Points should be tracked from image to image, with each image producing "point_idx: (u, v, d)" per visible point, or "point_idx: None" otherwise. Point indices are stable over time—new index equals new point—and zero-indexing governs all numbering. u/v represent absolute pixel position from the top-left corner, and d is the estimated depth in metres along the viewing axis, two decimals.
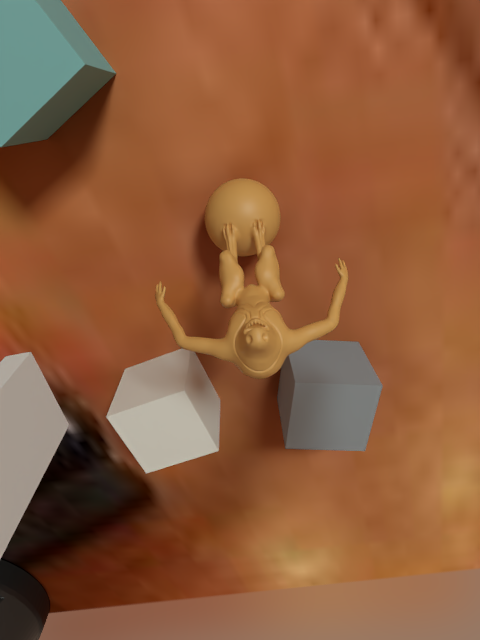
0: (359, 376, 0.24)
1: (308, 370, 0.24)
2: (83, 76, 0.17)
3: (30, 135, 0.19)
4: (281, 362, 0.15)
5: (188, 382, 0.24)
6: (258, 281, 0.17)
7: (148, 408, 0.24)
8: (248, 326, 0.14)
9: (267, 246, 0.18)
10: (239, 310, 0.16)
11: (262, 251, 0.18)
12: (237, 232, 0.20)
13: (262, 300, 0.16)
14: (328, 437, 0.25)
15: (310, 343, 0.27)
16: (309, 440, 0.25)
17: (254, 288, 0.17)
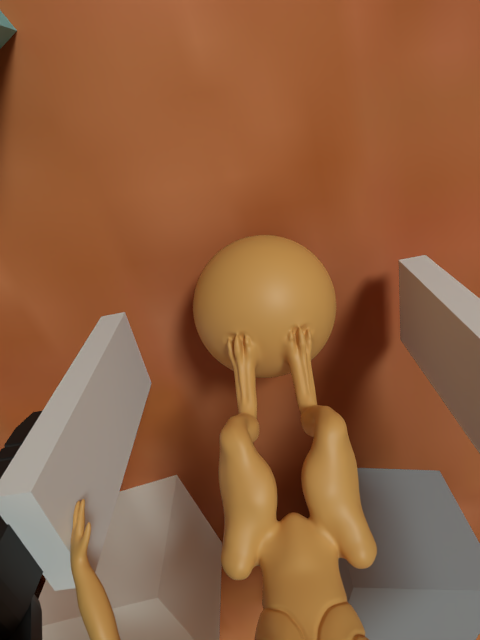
0: (460, 565, 0.14)
1: None
2: None
3: None
4: None
5: (167, 567, 0.14)
6: (312, 512, 0.07)
7: None
8: None
9: (331, 420, 0.08)
10: None
11: (320, 433, 0.08)
12: (256, 349, 0.10)
13: (330, 599, 0.06)
14: None
15: (365, 476, 0.17)
16: None
17: (304, 541, 0.07)
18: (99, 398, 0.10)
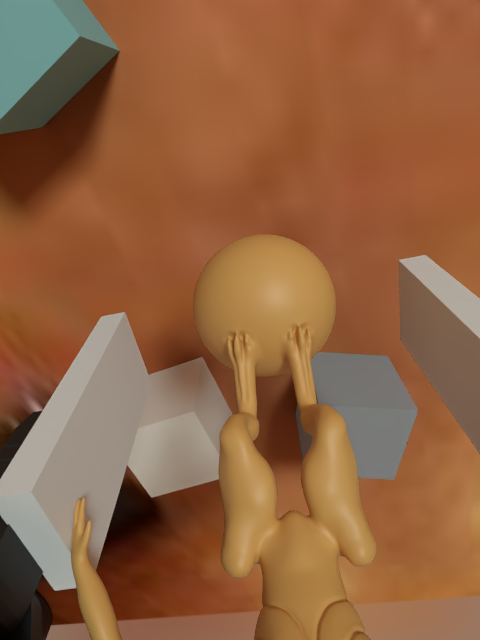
0: (391, 398, 0.21)
1: (334, 390, 0.22)
2: (79, 52, 0.14)
3: (20, 122, 0.16)
4: None
5: (198, 400, 0.22)
6: (312, 510, 0.07)
7: (153, 429, 0.21)
8: None
9: (330, 418, 0.08)
10: None
11: (319, 432, 0.08)
12: (256, 348, 0.10)
13: (330, 597, 0.06)
14: None
15: (334, 357, 0.24)
16: None
17: (303, 538, 0.07)
18: (99, 398, 0.10)
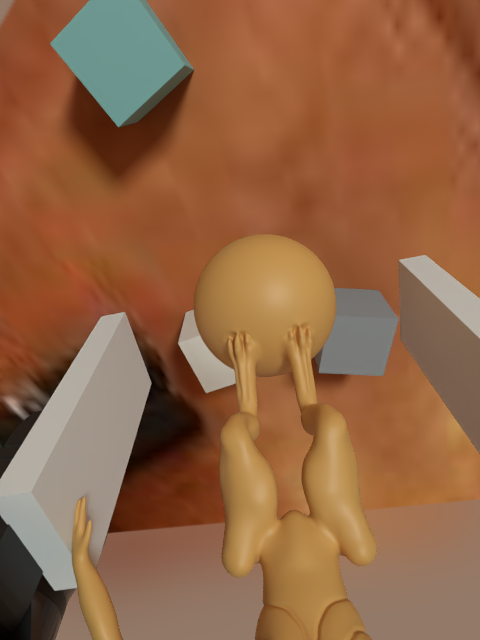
0: (379, 312, 0.30)
1: (339, 308, 0.30)
2: (179, 73, 0.23)
3: (133, 118, 0.25)
4: None
5: None
6: (312, 510, 0.07)
7: None
8: None
9: (331, 418, 0.08)
10: None
11: (320, 432, 0.08)
12: (256, 348, 0.10)
13: (331, 596, 0.06)
14: (353, 363, 0.31)
15: (339, 290, 0.33)
16: (338, 366, 0.31)
17: (304, 538, 0.07)
18: (99, 398, 0.10)
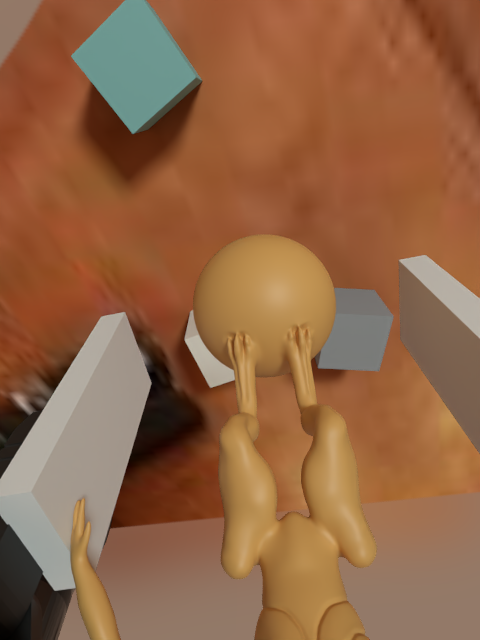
0: (375, 310, 0.32)
1: (337, 306, 0.32)
2: (190, 84, 0.25)
3: (146, 126, 0.27)
4: None
5: None
6: (312, 511, 0.07)
7: None
8: None
9: (331, 419, 0.08)
10: None
11: (319, 433, 0.08)
12: (256, 349, 0.10)
13: (330, 598, 0.06)
14: (351, 358, 0.33)
15: (337, 290, 0.35)
16: (337, 361, 0.33)
17: (303, 539, 0.07)
18: (99, 398, 0.10)
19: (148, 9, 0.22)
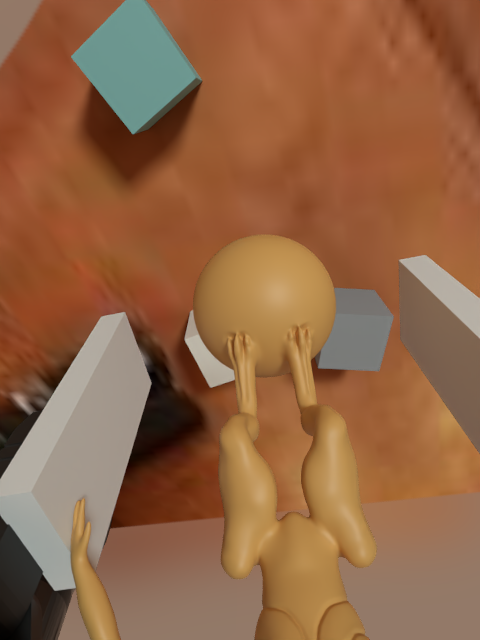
0: (375, 310, 0.32)
1: (337, 306, 0.32)
2: (190, 85, 0.25)
3: (146, 126, 0.27)
4: None
5: None
6: (312, 511, 0.07)
7: None
8: None
9: (331, 419, 0.08)
10: None
11: (319, 433, 0.08)
12: (256, 349, 0.10)
13: (330, 598, 0.06)
14: (351, 358, 0.33)
15: (337, 290, 0.35)
16: (337, 361, 0.33)
17: (303, 539, 0.07)
18: (99, 398, 0.10)
19: (148, 10, 0.22)
